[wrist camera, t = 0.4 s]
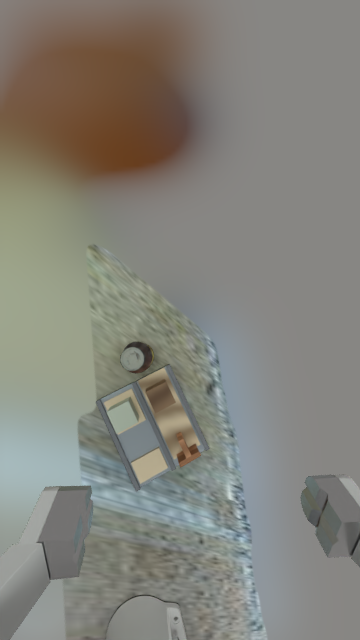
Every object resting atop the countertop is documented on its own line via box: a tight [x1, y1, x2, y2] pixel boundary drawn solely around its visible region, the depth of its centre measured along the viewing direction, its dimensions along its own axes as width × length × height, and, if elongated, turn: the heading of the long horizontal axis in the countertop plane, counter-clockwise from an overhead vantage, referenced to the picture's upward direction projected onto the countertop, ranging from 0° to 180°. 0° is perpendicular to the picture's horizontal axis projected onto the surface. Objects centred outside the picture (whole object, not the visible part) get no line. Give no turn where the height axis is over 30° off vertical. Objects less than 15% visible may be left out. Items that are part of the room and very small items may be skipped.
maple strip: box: [138, 368, 201, 467], centre depth 55 cm, size 20×7×5 cm, turn 26°
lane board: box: [96, 365, 210, 491], centre depth 57 cm, size 22×19×2 cm
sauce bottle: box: [120, 342, 154, 373], centre depth 50 cm, size 7×6×20 cm
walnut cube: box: [145, 379, 176, 414], centre depth 54 cm, size 5×5×5 cm
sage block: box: [107, 397, 139, 434], centre depth 53 cm, size 5×5×5 cm
